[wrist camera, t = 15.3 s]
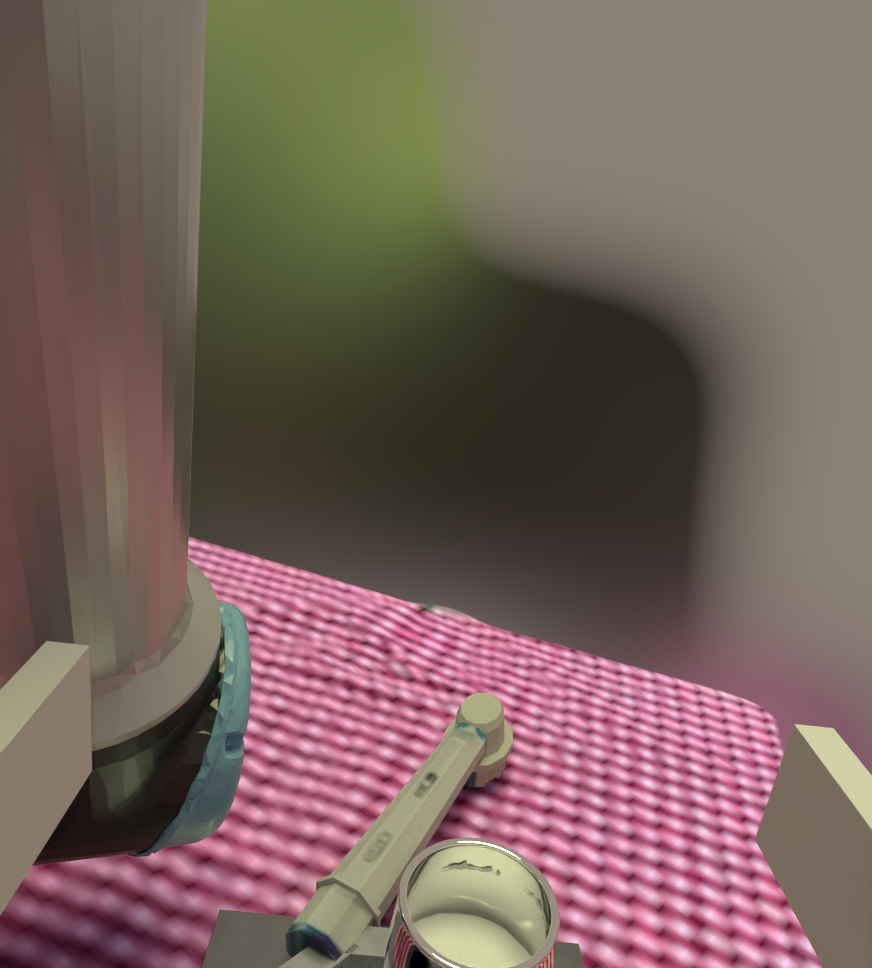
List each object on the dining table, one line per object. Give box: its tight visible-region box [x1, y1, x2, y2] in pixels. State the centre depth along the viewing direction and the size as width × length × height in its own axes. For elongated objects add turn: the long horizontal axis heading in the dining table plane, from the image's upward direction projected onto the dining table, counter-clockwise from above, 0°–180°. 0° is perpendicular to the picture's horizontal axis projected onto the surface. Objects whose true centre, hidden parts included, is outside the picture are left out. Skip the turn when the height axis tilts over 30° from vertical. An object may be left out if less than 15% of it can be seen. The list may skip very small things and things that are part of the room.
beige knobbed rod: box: [285, 693, 513, 968], centre depth 52 cm, size 5×7×25 cm
